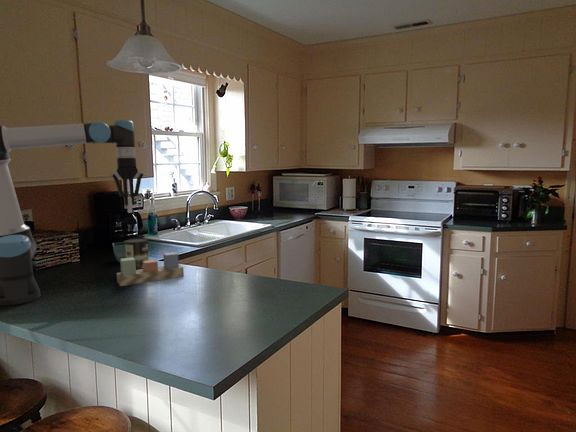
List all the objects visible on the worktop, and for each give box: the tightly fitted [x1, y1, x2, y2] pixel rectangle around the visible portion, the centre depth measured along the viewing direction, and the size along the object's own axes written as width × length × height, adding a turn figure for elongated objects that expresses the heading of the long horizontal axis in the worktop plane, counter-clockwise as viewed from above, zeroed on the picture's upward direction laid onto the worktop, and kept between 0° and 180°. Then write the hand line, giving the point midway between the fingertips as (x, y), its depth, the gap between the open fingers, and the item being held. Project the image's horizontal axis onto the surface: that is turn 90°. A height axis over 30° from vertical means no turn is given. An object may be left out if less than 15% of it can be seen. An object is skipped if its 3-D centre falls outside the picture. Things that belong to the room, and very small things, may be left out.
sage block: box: [119, 257, 136, 276], centre depth 183 cm, size 5×5×7 cm
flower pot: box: [112, 241, 126, 263], centre depth 223 cm, size 9×9×9 cm
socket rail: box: [116, 264, 185, 287], centre depth 188 cm, size 26×7×4 cm, turn 121°
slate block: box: [162, 251, 180, 269], centre depth 192 cm, size 5×5×7 cm
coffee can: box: [123, 238, 150, 270], centre depth 204 cm, size 10×10×14 cm
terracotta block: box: [143, 259, 159, 272], centre depth 188 cm, size 5×5×7 cm
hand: (130, 212), depth 190 cm, fingers closed
